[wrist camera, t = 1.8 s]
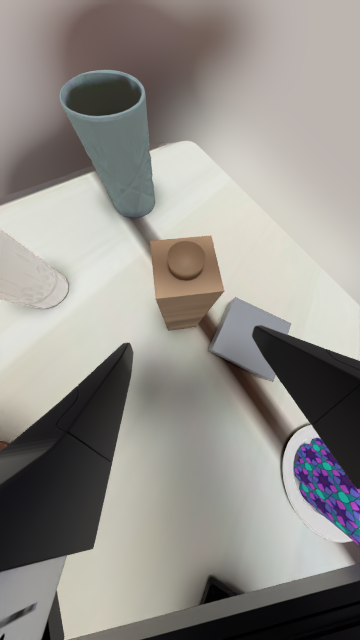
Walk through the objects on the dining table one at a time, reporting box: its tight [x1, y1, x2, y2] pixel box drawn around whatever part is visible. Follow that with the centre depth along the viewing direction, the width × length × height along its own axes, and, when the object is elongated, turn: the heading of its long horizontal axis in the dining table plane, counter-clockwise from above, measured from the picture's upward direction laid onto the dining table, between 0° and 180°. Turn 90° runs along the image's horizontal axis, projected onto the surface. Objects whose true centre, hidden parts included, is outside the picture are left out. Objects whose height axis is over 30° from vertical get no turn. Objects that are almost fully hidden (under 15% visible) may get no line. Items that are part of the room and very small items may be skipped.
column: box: [150, 236, 224, 330], centre depth 15 cm, size 4×4×14 cm
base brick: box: [208, 297, 291, 382], centre depth 20 cm, size 9×9×2 cm
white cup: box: [0, 229, 68, 309], centre depth 17 cm, size 8×8×10 cm
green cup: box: [60, 70, 155, 218], centre depth 21 cm, size 10×10×12 cm
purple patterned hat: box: [283, 425, 360, 546], centre depth 15 cm, size 12×12×5 cm
